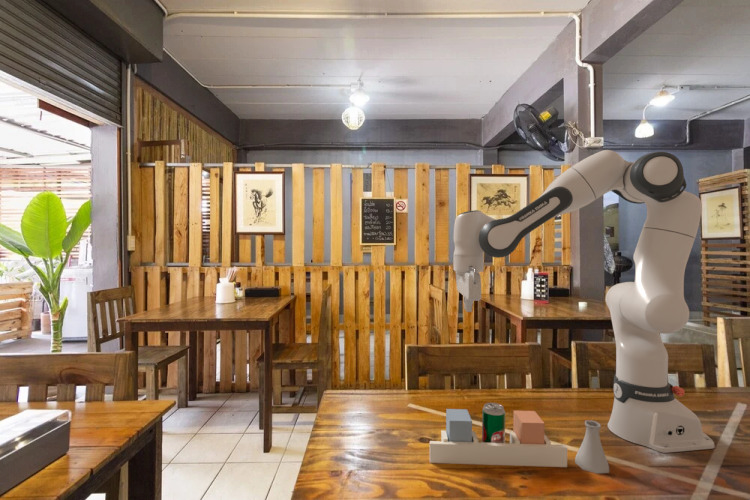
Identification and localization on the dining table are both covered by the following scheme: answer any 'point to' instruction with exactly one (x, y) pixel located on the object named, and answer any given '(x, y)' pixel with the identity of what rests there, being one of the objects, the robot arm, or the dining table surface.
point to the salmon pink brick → (528, 427)
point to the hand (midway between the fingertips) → (468, 311)
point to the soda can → (493, 423)
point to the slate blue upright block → (458, 425)
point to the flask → (592, 450)
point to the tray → (498, 452)
